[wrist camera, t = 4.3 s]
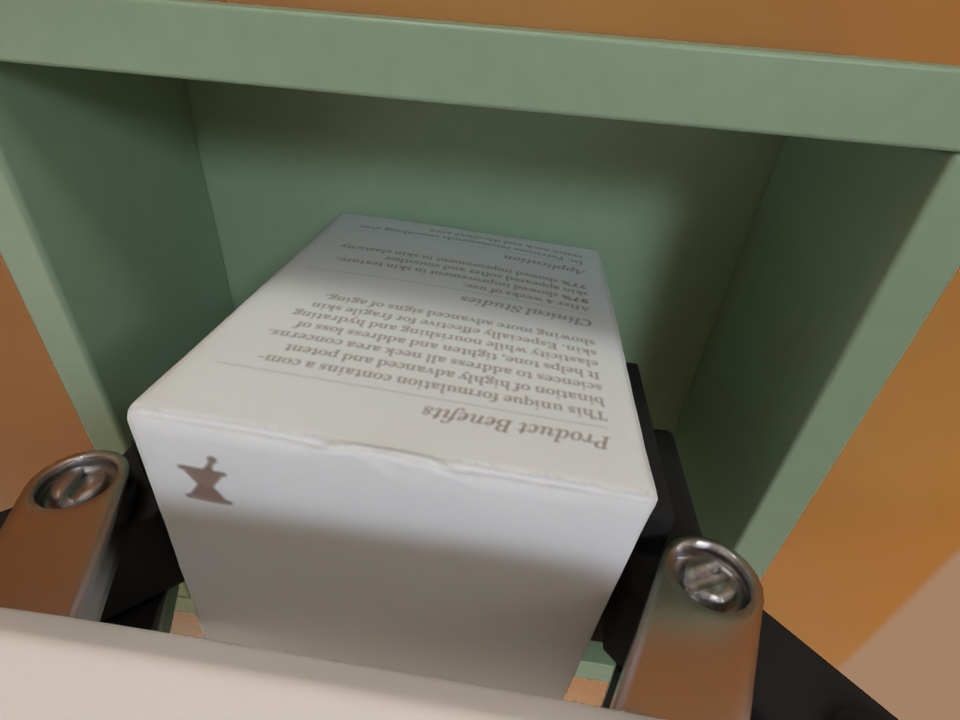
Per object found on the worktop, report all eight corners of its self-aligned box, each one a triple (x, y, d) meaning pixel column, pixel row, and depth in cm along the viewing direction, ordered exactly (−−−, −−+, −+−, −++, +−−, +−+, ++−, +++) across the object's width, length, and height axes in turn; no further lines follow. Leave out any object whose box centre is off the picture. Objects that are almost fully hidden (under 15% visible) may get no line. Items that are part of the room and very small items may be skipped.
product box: (345, 409, 15) (201, 673, 9) (340, 202, 11) (98, 400, 5) (553, 446, 15) (550, 743, 9) (609, 247, 11) (673, 506, 5)
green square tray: (144, -5, 10) (-140, -27, 6) (848, 54, 9) (1084, 77, 5) (259, 474, 18) (169, 611, 14) (654, 531, 17) (687, 696, 13)
